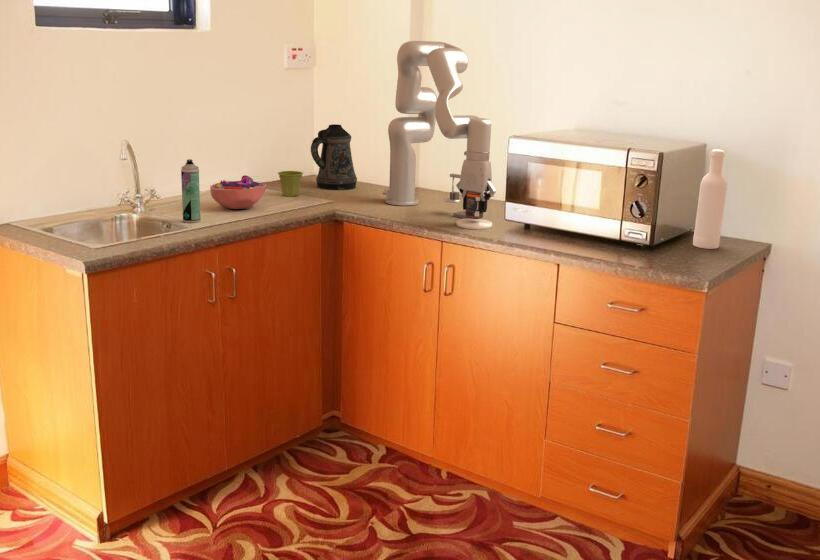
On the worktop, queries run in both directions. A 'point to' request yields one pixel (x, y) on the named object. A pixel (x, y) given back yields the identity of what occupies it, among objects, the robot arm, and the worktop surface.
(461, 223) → the dish
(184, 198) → the spray can
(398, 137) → the robot arm
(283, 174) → the plant pot
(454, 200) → the balance
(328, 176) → the beer stein
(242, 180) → the cell model
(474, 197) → the supplement bottle
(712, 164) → the bottle
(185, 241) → the worktop surface
